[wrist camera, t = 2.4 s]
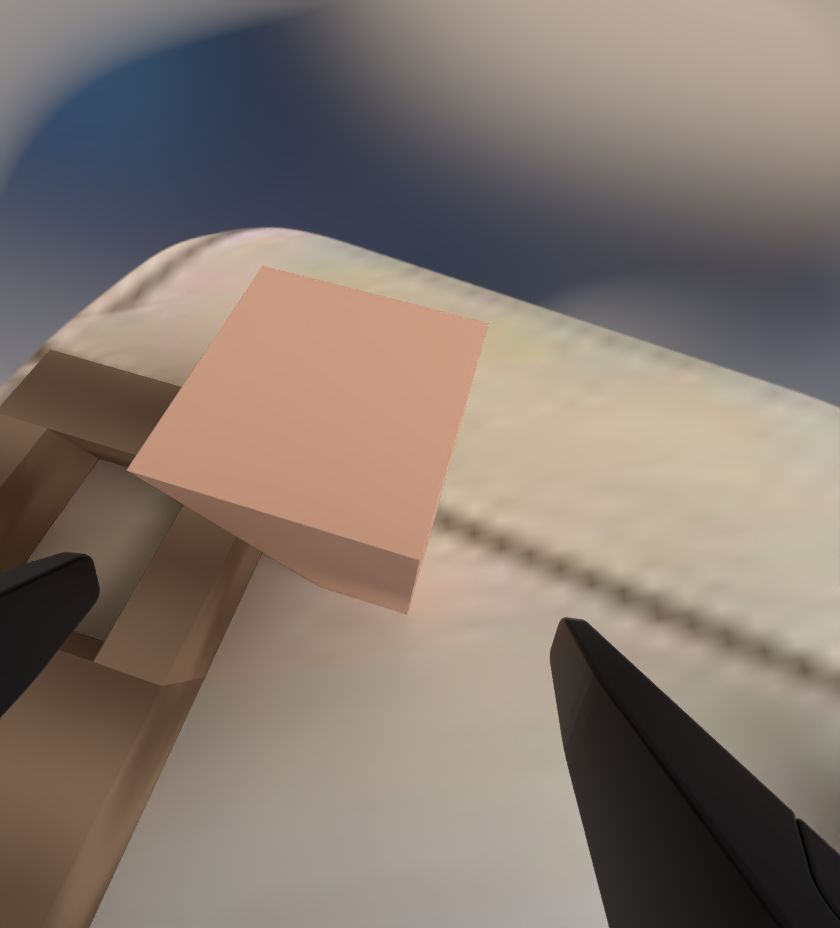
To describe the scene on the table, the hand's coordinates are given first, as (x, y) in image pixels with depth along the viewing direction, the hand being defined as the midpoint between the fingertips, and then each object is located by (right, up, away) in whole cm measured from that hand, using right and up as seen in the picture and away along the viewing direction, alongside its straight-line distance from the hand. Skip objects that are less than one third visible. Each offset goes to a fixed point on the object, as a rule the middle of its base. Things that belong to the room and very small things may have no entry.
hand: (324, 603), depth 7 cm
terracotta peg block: (0, -2, +10) cm, 10 cm away
